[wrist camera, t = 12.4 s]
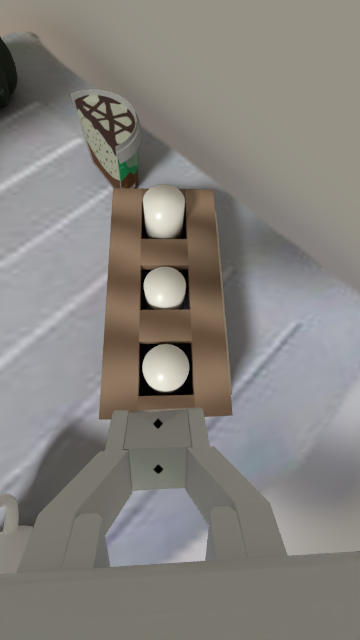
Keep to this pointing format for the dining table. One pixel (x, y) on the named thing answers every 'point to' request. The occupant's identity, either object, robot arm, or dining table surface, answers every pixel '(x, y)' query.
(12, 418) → the dining table surface
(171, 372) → the white egg
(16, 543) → the cup
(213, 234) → the wooden peg block
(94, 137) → the food container
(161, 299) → the white rounded cylinder
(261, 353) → the dining table surface
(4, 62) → the squash
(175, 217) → the white rounded cylinder
